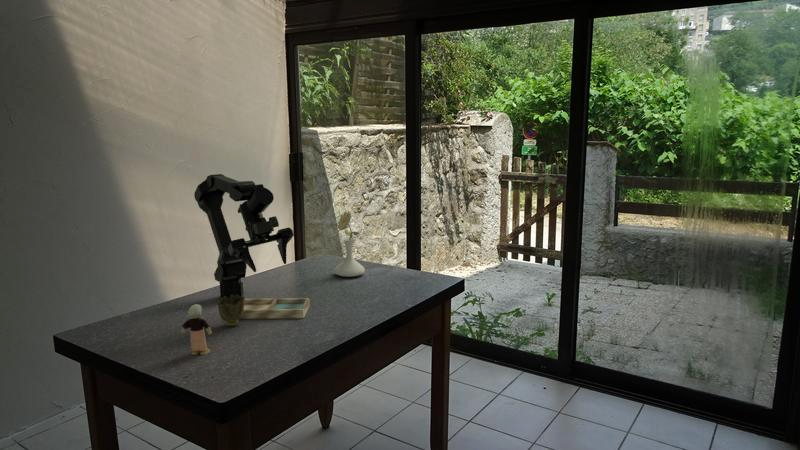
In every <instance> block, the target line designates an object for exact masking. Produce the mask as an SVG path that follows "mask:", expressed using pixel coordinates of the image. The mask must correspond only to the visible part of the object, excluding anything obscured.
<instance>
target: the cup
mask: <svg viewBox="0 0 800 450" xmlns="http://www.w3.org/2000/svg"><path fill="white" fill-rule="evenodd" d="M219 297H220V296H219ZM244 299H245V297H244V296H243V295H242V296H240V297H239V295H235V296H233V295H231V296H230V298H226V296H224V297H223V298H221V297H220V298H218V299H216V302H217V308H218V312H219V316H220V318H221V319H222V320H223V321H224V322H225V325H226V326H227V327H230V328H233V327H237V326H238V325H239V324H240V318H241V317H242V315H243V311H244Z"/></svg>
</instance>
